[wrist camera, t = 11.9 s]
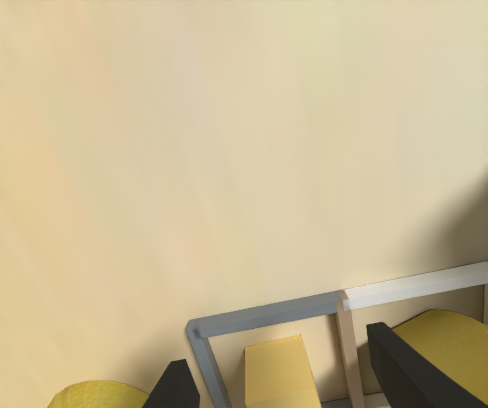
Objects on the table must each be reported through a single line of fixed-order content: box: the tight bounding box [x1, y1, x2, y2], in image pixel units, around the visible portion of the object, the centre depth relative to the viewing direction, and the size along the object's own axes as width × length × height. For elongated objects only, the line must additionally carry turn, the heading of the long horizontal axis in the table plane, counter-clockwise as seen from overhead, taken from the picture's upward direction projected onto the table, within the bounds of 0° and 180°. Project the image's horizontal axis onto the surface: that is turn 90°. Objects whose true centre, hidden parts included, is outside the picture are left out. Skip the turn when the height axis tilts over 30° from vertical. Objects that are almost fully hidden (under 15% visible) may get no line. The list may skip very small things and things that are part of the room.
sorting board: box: [186, 261, 488, 408], centre depth 23 cm, size 25×13×1 cm, turn 104°
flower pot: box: [392, 309, 488, 405], centre depth 19 cm, size 9×9×9 cm
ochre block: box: [245, 334, 322, 408], centre depth 22 cm, size 5×5×5 cm
